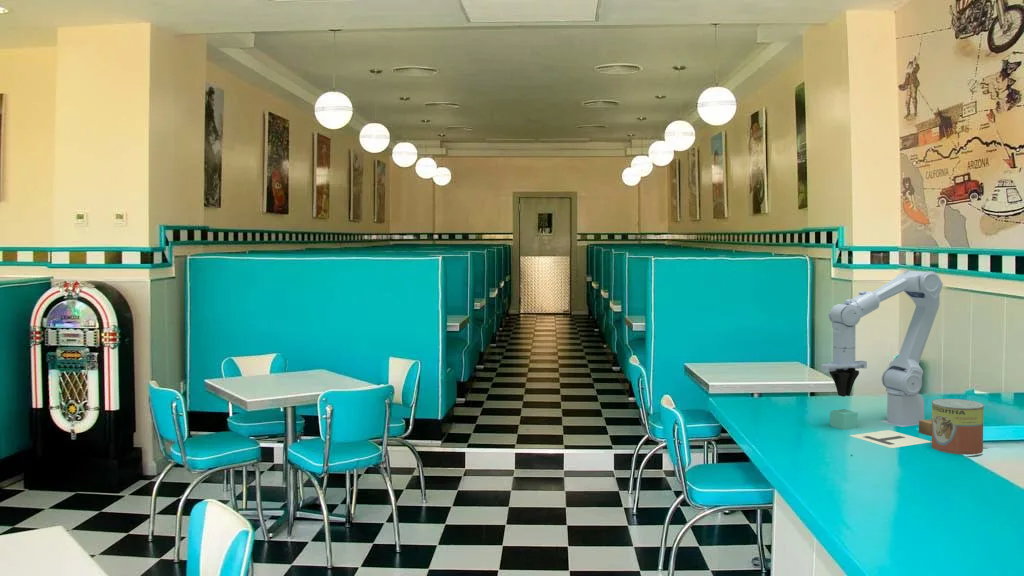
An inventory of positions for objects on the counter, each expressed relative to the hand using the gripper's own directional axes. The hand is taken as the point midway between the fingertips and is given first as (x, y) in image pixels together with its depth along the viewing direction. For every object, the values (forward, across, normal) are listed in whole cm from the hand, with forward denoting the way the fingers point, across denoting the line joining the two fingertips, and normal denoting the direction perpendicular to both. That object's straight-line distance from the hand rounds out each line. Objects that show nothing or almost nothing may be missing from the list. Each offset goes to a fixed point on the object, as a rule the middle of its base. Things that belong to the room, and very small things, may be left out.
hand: (844, 395), depth 218 cm
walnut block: (+8, +13, -15) cm, 21 cm away
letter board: (+9, +1, -15) cm, 18 cm away
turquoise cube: (+10, 0, 0) cm, 10 cm away
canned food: (+10, +8, -29) cm, 32 cm away
